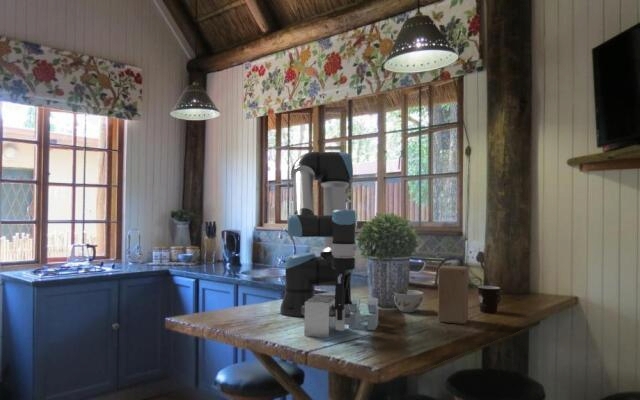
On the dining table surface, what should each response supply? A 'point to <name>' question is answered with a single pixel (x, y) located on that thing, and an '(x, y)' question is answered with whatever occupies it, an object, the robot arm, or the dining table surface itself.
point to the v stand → (355, 313)
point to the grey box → (319, 316)
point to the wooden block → (453, 294)
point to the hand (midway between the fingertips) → (342, 327)
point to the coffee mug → (488, 298)
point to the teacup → (408, 300)
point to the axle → (333, 312)
